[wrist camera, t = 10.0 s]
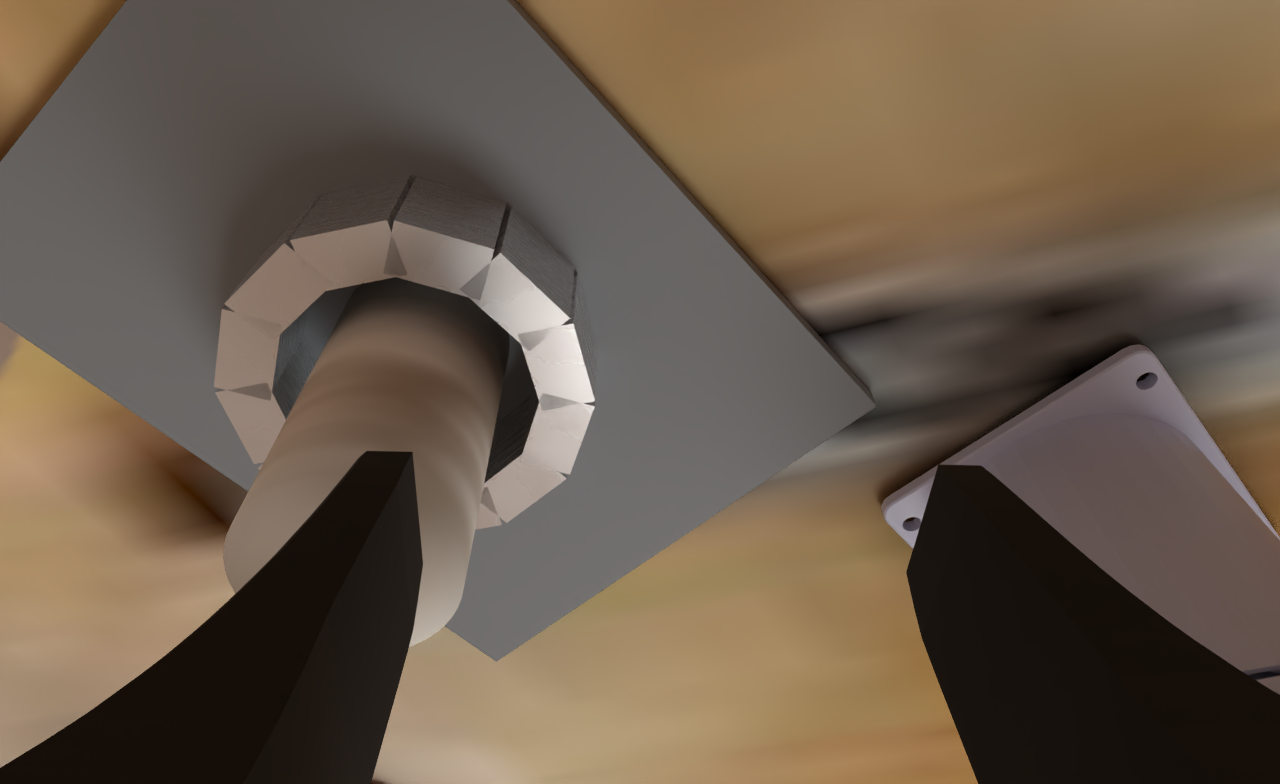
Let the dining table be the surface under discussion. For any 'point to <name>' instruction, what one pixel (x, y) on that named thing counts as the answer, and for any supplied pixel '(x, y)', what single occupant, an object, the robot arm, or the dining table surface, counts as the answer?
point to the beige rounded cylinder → (388, 431)
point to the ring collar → (433, 256)
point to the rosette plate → (274, 197)
